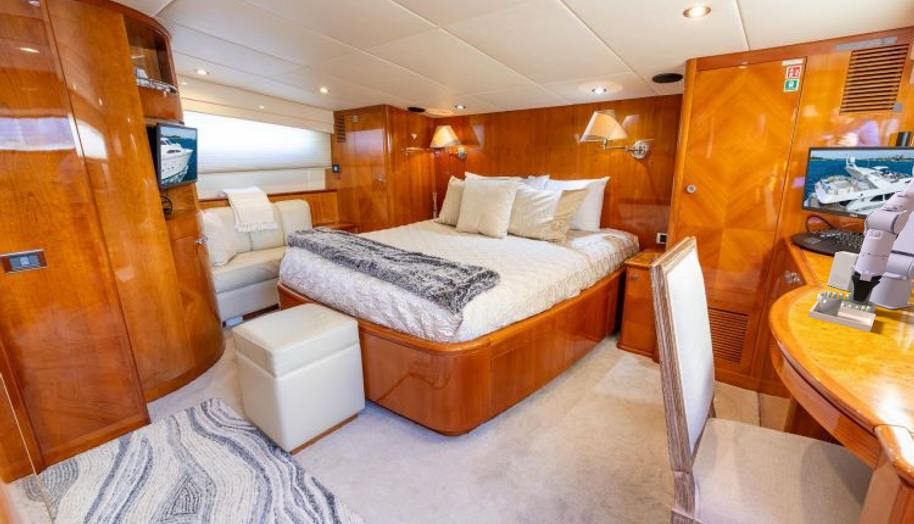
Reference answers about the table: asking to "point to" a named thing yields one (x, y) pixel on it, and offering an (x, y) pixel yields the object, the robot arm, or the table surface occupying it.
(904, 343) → the table surface
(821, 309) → the pebble slate
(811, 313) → the parts tray
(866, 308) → the celadon bowl
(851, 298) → the pebble charcoal
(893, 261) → the robot arm
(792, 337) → the table surface
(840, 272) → the skincare box
